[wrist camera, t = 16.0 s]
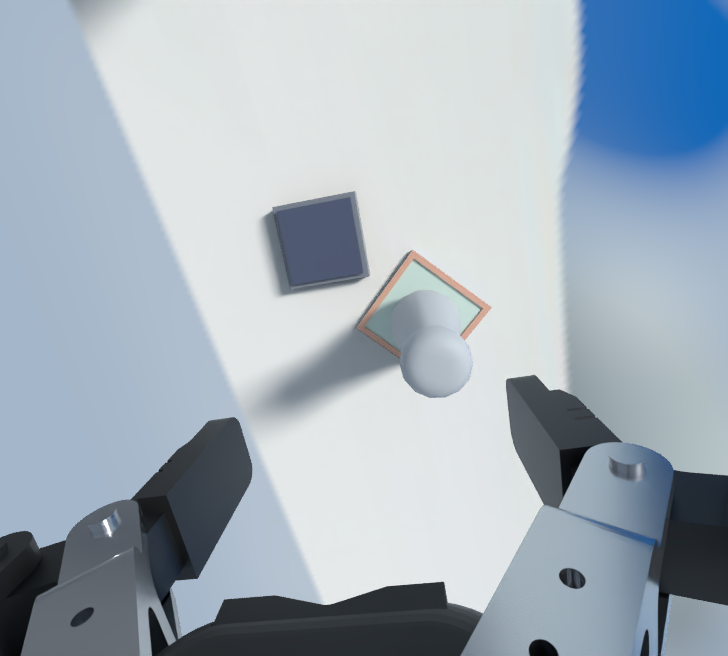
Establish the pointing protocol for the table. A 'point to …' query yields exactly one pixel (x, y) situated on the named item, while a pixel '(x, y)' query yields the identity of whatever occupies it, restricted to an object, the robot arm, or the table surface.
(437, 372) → the salt shaker
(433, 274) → the marked square
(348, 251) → the ink pad
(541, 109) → the table surface
